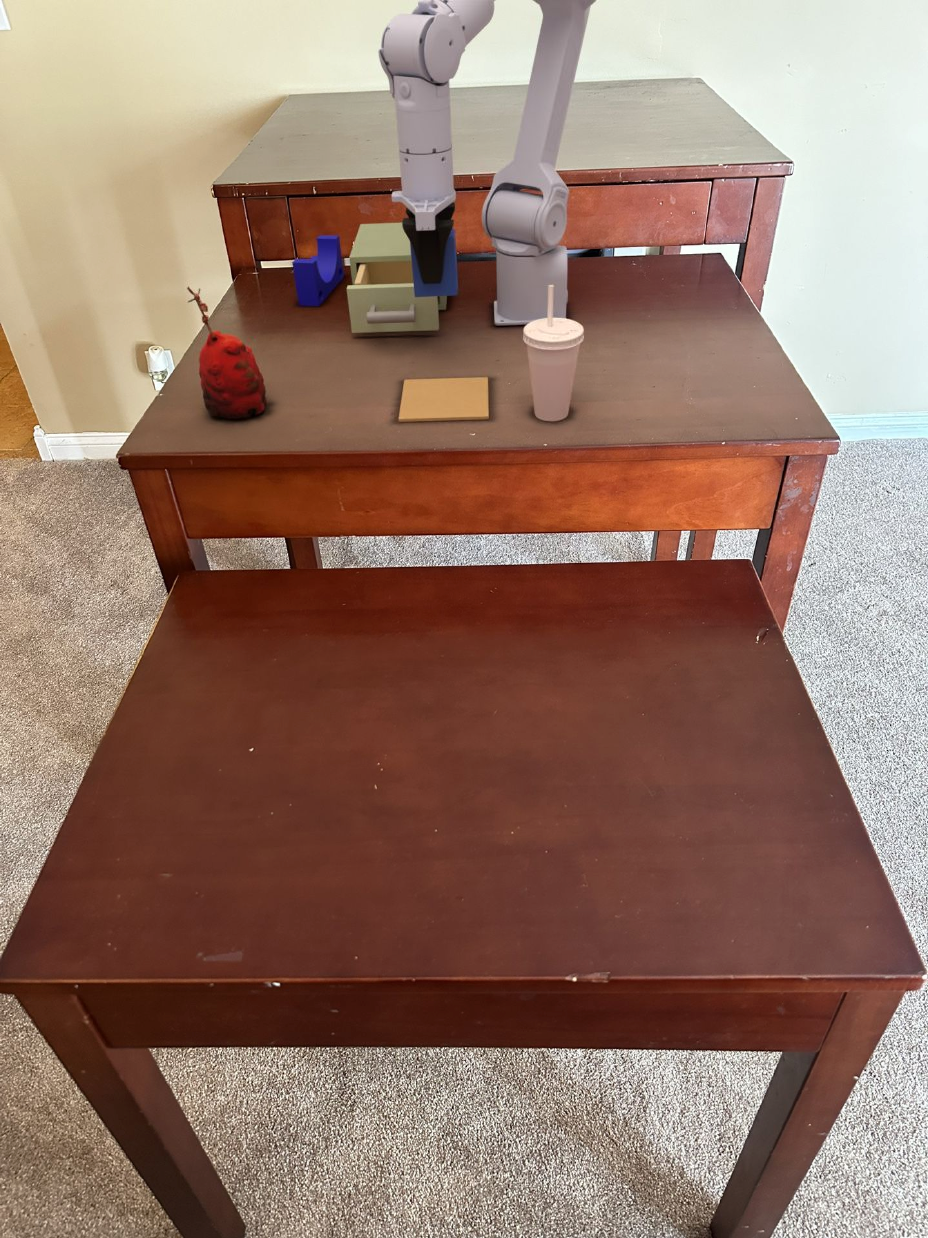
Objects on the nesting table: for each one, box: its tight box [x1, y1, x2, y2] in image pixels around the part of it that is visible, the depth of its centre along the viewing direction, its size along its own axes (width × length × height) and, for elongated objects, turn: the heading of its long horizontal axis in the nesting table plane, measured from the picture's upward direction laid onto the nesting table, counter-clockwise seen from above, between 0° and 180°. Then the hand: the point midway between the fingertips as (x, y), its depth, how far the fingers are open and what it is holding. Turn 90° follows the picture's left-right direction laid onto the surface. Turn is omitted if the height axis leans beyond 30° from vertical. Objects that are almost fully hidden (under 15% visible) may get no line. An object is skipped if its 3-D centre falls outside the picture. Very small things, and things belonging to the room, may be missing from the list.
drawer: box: [346, 261, 440, 334], centre depth 119 cm, size 18×11×6 cm, turn 179°
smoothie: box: [522, 285, 585, 422], centre depth 95 cm, size 6×6×14 cm
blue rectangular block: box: [410, 228, 459, 297], centre depth 104 cm, size 5×3×6 cm
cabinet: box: [348, 222, 448, 311], centre depth 128 cm, size 15×13×8 cm
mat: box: [398, 376, 490, 423], centre depth 103 cm, size 10×10×1 cm
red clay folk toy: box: [186, 286, 267, 420], centre depth 98 cm, size 8×7×15 cm
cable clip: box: [291, 234, 345, 307], centre depth 130 cm, size 12×4×6 cm, turn 168°
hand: (432, 276), depth 105 cm, fingers closed on blue rectangular block, 3 cm apart
